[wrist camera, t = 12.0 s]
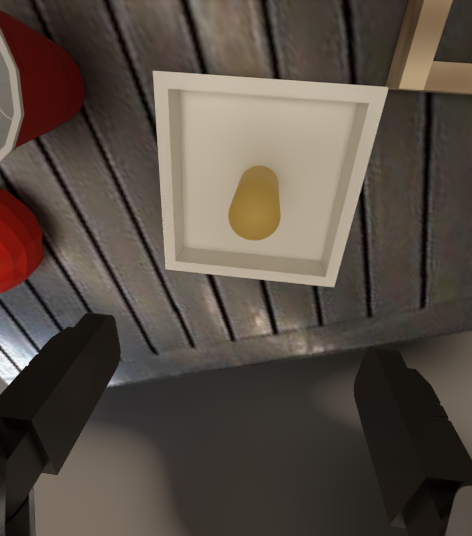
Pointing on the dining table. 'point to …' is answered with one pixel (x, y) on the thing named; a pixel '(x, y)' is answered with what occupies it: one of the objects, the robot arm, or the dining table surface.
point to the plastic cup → (34, 85)
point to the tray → (262, 154)
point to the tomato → (17, 242)
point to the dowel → (256, 204)
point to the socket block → (426, 53)
